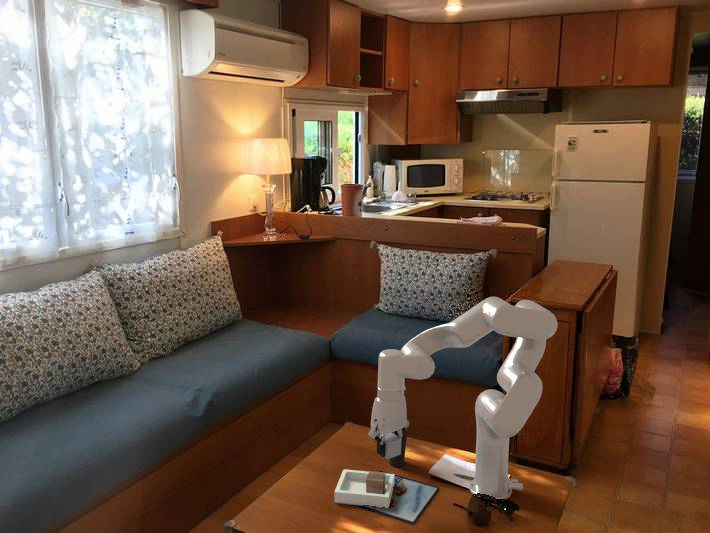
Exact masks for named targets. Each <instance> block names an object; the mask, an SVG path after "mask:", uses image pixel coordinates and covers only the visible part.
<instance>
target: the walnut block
mask: <svg viewBox="0 0 710 533" xmlns="http://www.w3.org/2000/svg"><path fill="white" fill-rule="evenodd" d="M368 472H369V473H368V476H367V479H366V493H374V494H384V491H385V487H386V473H387V472H381V471H372V470H369V471H368Z"/></svg>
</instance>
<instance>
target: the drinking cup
mask: <svg viewBox="0 0 710 533" xmlns="http://www.w3.org/2000/svg"><path fill="white" fill-rule="evenodd" d="M409 428H410V424H409V425H408V426H407V428H406V429H405V431H404V433H403V437H402V439H401V455H398V456H395V457H393V458H390V459H388V463H389V465H390V466H391V467H394V468H395V467H396V468H400V467H402V466H404V464H405V456H406V449H407V439H408V433H409V432H408V431H409ZM391 433H393V432H391ZM393 434H394V433H393Z"/></svg>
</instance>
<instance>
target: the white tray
mask: <svg viewBox="0 0 710 533" xmlns="http://www.w3.org/2000/svg"><path fill="white" fill-rule="evenodd" d="M368 473H369V471H368V470H367V471H365V470H355V469H347V468H345V469H343V470H342V472H341V474H340V477H339V479H338V482H337V485H336V487H335V489H334V492H333V494H334V500H333V501H334V503H336V504H343V505H344V504H345V505H354V506H363V505H369V506H368V507H372V506H376V507H375V508H382V507H385V508H384V509H389V507H390V504H391V500H392V495H393V492H394V488H393V487H395V473H387V472H385V473H386V487H385V491H384V494H374V493H366V479H367V476H368Z"/></svg>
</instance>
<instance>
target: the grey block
mask: <svg viewBox="0 0 710 533" xmlns="http://www.w3.org/2000/svg"><path fill="white" fill-rule="evenodd" d="M381 436H382V435H380V438H381ZM401 439H402V438H400V437H398V436H396V435H395V434H393V433H388V434H386V437H385V441H384V444H385V445H386V446H385V457H384V458H385V459H386V460H389V459H390V458H393V457H395V456H398V455H401ZM376 453H377V449H376Z"/></svg>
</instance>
